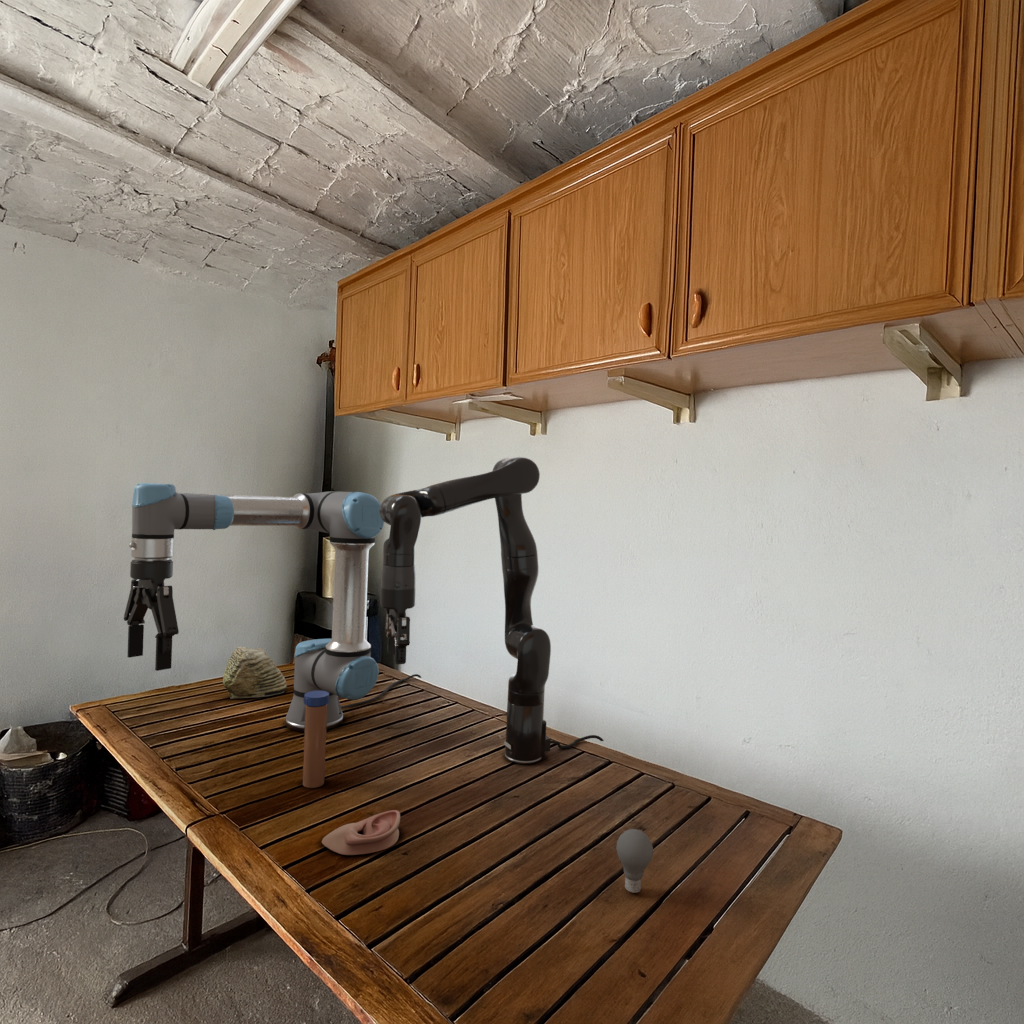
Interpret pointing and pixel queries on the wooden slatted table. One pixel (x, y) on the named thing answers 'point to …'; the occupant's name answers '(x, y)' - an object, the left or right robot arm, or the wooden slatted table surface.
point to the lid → (316, 698)
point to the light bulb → (634, 857)
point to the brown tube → (314, 746)
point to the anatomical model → (365, 835)
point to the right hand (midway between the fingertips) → (396, 658)
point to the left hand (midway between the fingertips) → (148, 662)
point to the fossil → (252, 674)
